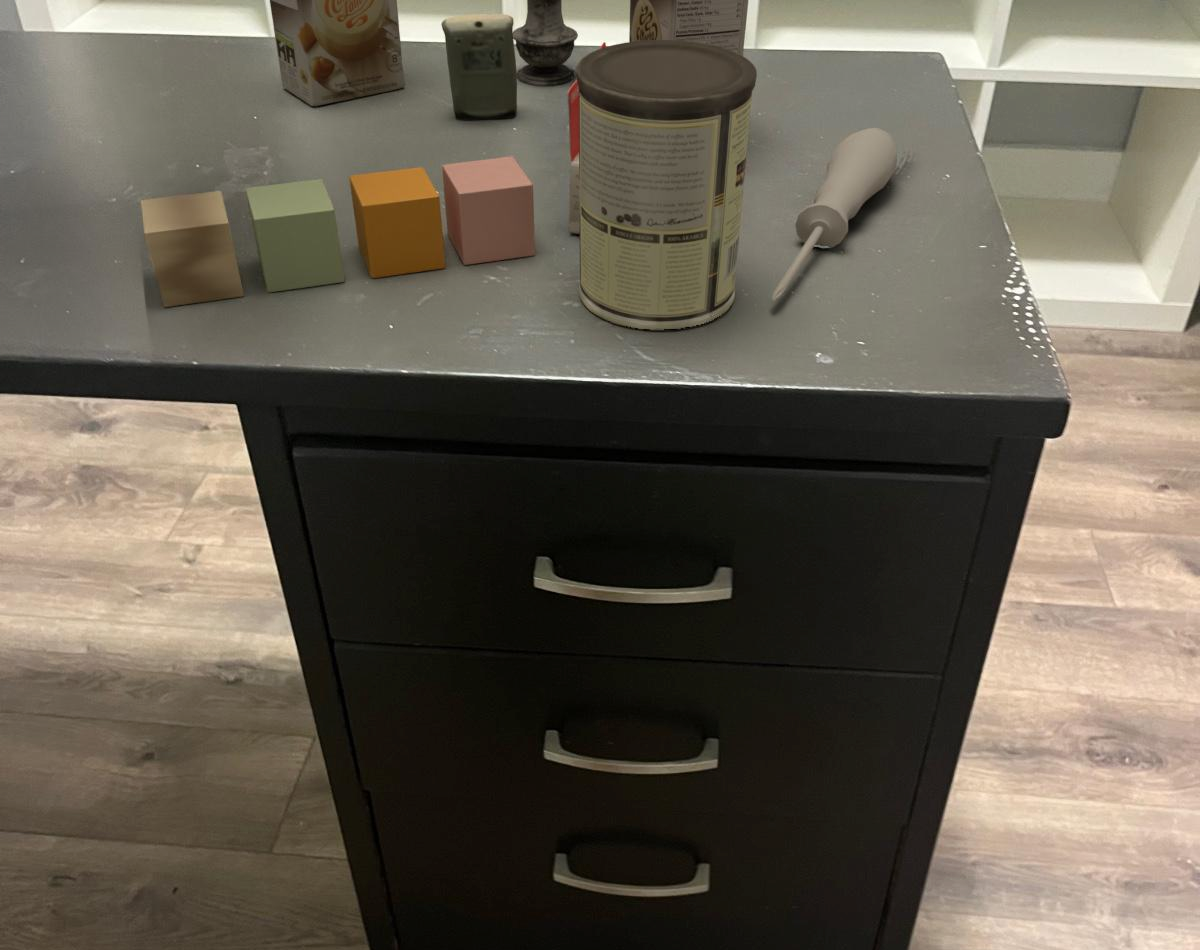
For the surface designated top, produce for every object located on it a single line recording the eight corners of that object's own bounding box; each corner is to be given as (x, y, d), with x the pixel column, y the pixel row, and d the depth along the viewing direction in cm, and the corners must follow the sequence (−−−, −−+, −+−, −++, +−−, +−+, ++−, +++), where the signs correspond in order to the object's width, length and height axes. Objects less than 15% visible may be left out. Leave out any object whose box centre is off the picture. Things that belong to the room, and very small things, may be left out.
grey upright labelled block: (471, 132, 97) (465, 29, 91) (436, 114, 100) (428, 13, 94) (527, 116, 100) (524, 15, 94) (491, 99, 103) (487, 0, 97)
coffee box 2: (623, 124, 99) (628, -95, 88) (694, 116, 100) (708, -100, 89) (661, 165, 92) (672, -65, 81) (737, 156, 94) (757, -71, 83)
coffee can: (567, 261, 80) (566, 41, 70) (716, 253, 81) (734, 35, 72) (588, 337, 72) (589, 102, 63) (751, 327, 73) (777, 94, 64)
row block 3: (464, 265, 79) (458, 193, 76) (447, 234, 83) (441, 164, 79) (535, 255, 80) (533, 184, 77) (515, 225, 84) (513, 155, 81)
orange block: (371, 278, 78) (362, 205, 74) (358, 246, 81) (348, 175, 78) (445, 268, 79) (439, 196, 76) (429, 237, 82) (423, 166, 79)
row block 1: (163, 307, 74) (144, 232, 71) (159, 272, 78) (140, 199, 75) (244, 296, 76) (228, 222, 72) (236, 262, 79) (221, 190, 76)
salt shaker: (556, 91, 104) (555, -61, 96) (501, 79, 106) (494, -70, 98) (589, 72, 108) (590, -75, 100) (534, 61, 110) (531, -84, 102)
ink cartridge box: (634, 177, 90) (638, 42, 84) (600, 239, 82) (602, 95, 76) (602, 174, 91) (604, 39, 84) (566, 235, 83) (565, 92, 76)
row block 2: (267, 293, 76) (253, 219, 73) (259, 259, 80) (245, 187, 76) (345, 282, 77) (334, 209, 74) (333, 249, 81) (322, 178, 77)
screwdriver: (742, 329, 76) (732, 269, 74) (848, 171, 92) (843, 117, 90) (813, 331, 74) (806, 268, 72) (908, 168, 90) (905, 112, 88)
